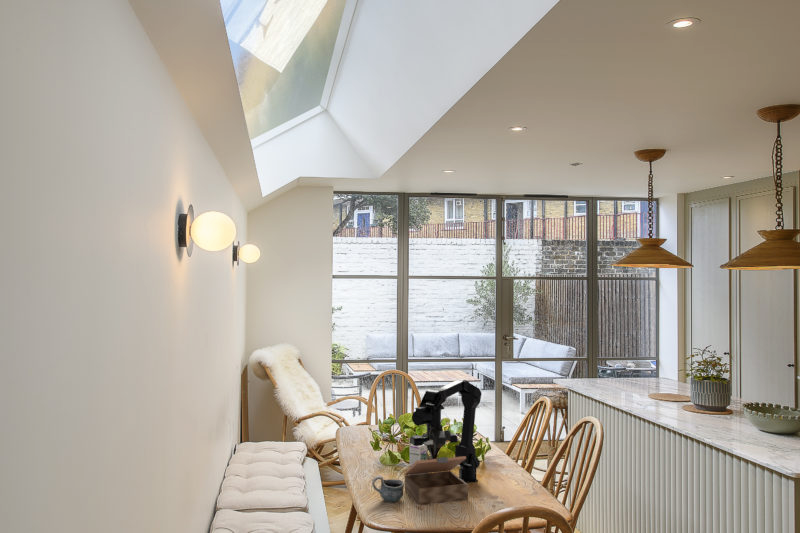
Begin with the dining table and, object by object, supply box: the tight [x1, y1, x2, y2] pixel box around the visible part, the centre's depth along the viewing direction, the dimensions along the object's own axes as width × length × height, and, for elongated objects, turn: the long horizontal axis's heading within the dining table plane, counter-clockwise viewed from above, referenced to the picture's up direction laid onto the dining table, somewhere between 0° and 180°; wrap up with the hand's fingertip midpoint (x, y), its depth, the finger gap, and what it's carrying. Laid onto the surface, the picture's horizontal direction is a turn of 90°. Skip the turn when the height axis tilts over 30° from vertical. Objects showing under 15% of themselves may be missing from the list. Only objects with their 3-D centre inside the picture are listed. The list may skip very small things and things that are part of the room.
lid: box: [403, 456, 466, 476], centre depth 245 cm, size 20×19×2 cm
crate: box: [404, 470, 469, 506], centre depth 244 cm, size 20×18×6 cm
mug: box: [371, 475, 405, 503], centre depth 237 cm, size 10×12×10 cm
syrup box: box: [408, 443, 428, 475], centre depth 266 cm, size 6×6×14 cm
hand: (433, 460), depth 246 cm, fingers closed
